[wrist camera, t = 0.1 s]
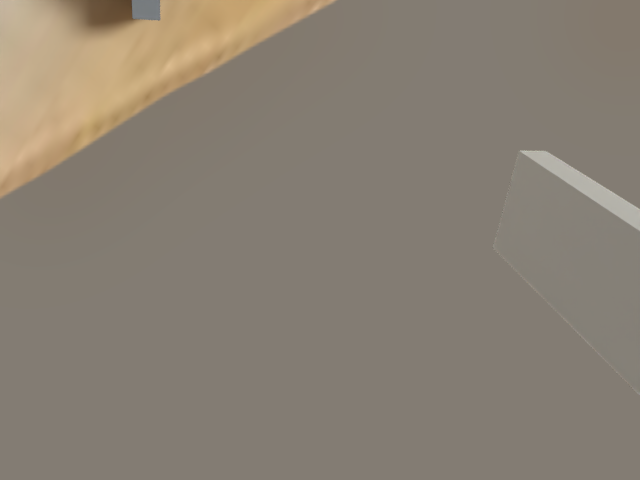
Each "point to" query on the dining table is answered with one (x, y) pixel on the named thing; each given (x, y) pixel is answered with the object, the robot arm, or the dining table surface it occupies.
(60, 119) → the dining table surface
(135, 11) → the blue grey block group
